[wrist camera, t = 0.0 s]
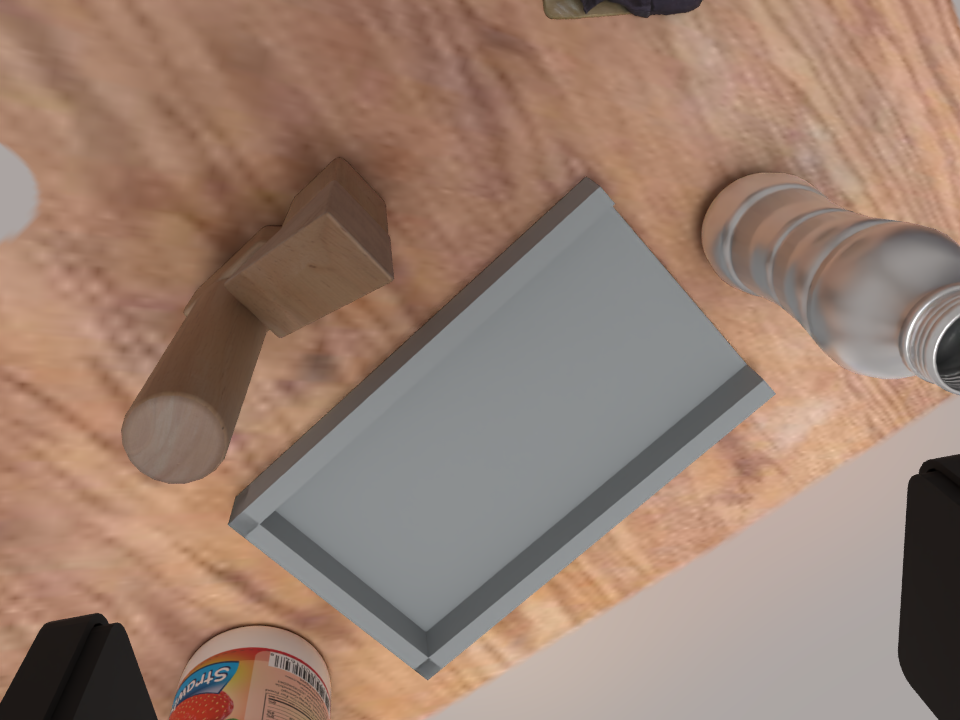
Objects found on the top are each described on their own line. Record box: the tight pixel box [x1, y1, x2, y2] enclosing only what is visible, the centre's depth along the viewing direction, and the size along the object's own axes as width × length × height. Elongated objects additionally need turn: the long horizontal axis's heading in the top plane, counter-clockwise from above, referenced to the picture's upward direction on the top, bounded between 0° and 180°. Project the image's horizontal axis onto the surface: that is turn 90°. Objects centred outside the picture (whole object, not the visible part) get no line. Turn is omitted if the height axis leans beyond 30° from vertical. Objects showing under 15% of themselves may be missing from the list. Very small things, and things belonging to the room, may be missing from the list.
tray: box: [228, 177, 775, 680], centre depth 50 cm, size 16×27×3 cm, turn 132°
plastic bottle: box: [701, 173, 960, 395], centre depth 39 cm, size 6×7×20 cm
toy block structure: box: [121, 157, 394, 484], centre depth 37 cm, size 4×11×18 cm, turn 131°
